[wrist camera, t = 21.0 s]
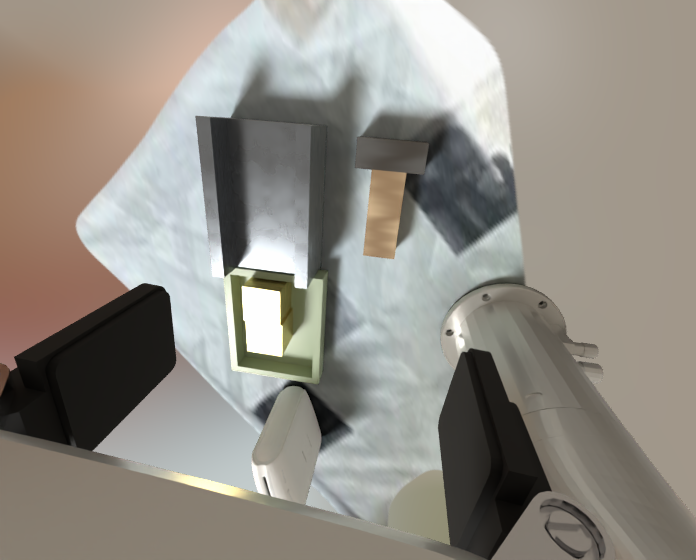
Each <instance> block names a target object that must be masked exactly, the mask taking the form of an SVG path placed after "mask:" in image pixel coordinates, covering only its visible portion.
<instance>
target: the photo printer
mask: <svg viewBox="0 0 696 560" xmlns="http://www.w3.org/2000/svg"><path fill="white" fill-rule="evenodd" d="M320 445H321V431H320V428H319V424H318V421H317V418H316V415H315V412H314V409H313V406H312V404H311V401H310V398H309V396H308V394H307V392H306V390H305V389H302V388H301V387H298V386H289V387H287V388H285V389H284V390H283V391H281V392H280V393H279V395H278V397H277V399H276V401H275V404H274V406H273V408H272V410H271V413H270V415H269V417H268V419H267V422H266V424H265V426H264V428H263V430H262V432H261V435H260V437H259V439H258V442H257V443H256V446H255V448H254V450H253V453H252V470H253V475H254V480H255V483H256V486H257V490H258V492H259V493H260V494H264V495H268V496H272V497H276V498H280V499H284V500H288V501H291V502H295V503H299V504H303V505H305V504H306V500H307V496H308V493H309V489H310V485H311V481H312V477H313V473H314V469H315V465H316V461H317V457H318V453H319V449H320Z"/></svg>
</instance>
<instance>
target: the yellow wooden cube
mask: <svg viewBox="0 0 696 560" xmlns="http://www.w3.org/2000/svg"><path fill="white" fill-rule="evenodd" d="M291 293H292V282H284V281H277V280H269V279H261V278H254V277H251V278H250V279H249V280H248V281H247V282H246V283H245V284H244V285H243V286H242V296H243V314H244V320H247V321H254V322H260V323H267V324H273V325H279V326H280V325H281V323H282V322H283V320H284V318H285V317H286V315H287V314H288V312H289V310H290V309H291Z"/></svg>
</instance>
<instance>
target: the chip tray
mask: <svg viewBox="0 0 696 560" xmlns="http://www.w3.org/2000/svg"><path fill="white" fill-rule="evenodd" d="M251 277H254V278H261V279H269V280H277V281H284V282H292V293H291V308H293V337H292V339H291V341H290V343H289V344H288V346H287V348H286V350H285V352H284V354H283V356H276V355H270V354H263V353H257V352H251V351H248V350H247V332H246V320H244V314H243V296H242V286H243V285H244V284H245V283H246V282H247V281H248V280H249V279H250V278H251ZM327 280H328V270H320V269H319V270H318V271H317V273H316V275H315V276H314V278H313V280H312V281H311V283H310V285H309V286H308V288H307V289H304V288H296V287H295V274H293V273H286V272H278V271H270V270H262V269H255V268H247V267H239V266H238V267H237V268H235V269H234V270H233V271H232V272H231V273H229V274H228V275H227V276H226V277H225V278H224V289H225V300H226V311H227V322H228V333H229V344H230V355H231V366H232V370H233V371H239V372H245V373H251V374H258V375H264V376H270V377H276V378H282V379H288V380H294V381H300V382H306V383H312V384H319V381H320V378H321V375H322V372H323V357H324V337H325V318H326V299H327Z"/></svg>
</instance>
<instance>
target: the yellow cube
mask: <svg viewBox="0 0 696 560" xmlns="http://www.w3.org/2000/svg"><path fill="white" fill-rule="evenodd" d="M246 332H247V350H248V351H251V352H257V353H263V354H270V355H276V356H283V354H284V352H285V350H286V348H287V346H288V344H289V343H290V341H291V339H292V337H293V308H291V309H290V310H289V312H288V314H287V315H286V317H285V318H284V320H283V322H282V323H281V325H280V326H279V325H273V324H267V323H260V322H254V321H247V320H246Z"/></svg>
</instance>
